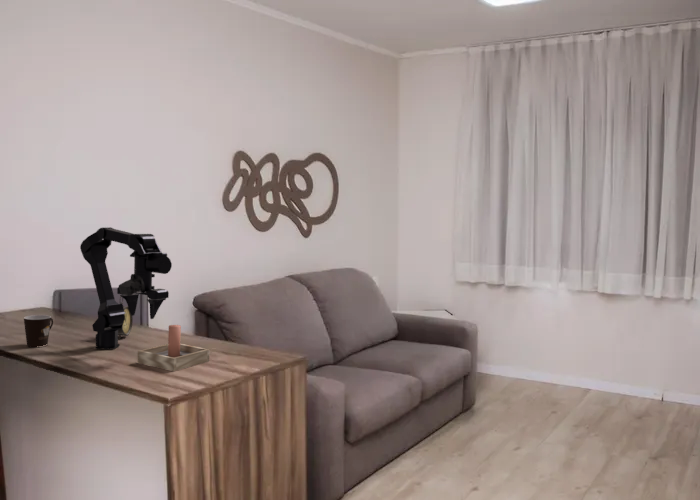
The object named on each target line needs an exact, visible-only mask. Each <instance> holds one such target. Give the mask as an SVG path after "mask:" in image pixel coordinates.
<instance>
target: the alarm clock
mask: <svg viewBox="0 0 700 500" xmlns="http://www.w3.org/2000/svg"><path fill="white" fill-rule="evenodd" d="M120 303H122V305H123V304H124V298H123V297H121V296H120V297H119V304H120ZM123 309H124V312H125V314H124V315H125V320H124V323H123V327H122V329H118V341H120V340H121V338H122V336H123V337H124V336H129V335H130V334H131V332H132V328H133V317H134V316H131V313H130V310H129V308H128V305H125V306H124V305H123Z"/></svg>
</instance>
